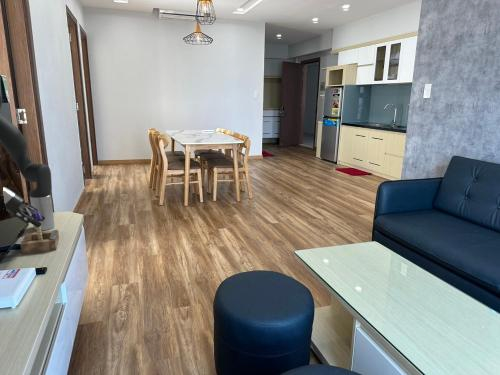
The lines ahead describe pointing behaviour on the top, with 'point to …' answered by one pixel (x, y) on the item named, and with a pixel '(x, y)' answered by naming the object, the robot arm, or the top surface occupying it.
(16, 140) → the robot arm
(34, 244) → the walnut jig
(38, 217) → the toy lamp
